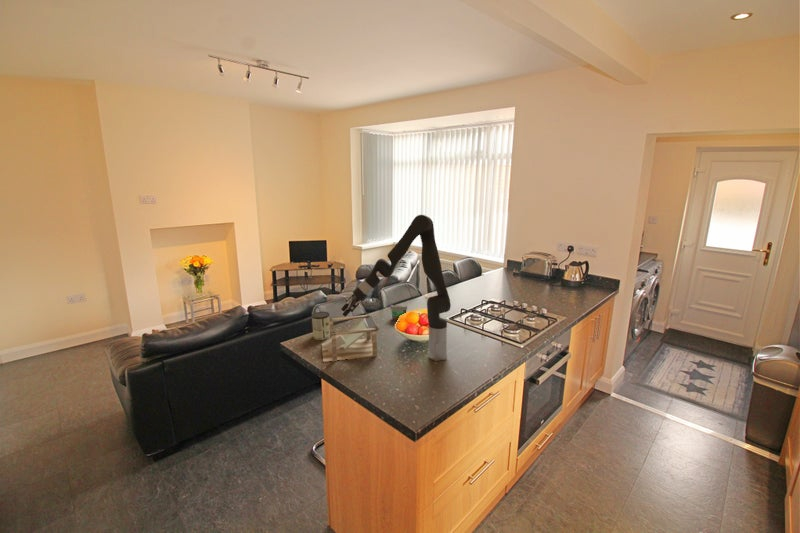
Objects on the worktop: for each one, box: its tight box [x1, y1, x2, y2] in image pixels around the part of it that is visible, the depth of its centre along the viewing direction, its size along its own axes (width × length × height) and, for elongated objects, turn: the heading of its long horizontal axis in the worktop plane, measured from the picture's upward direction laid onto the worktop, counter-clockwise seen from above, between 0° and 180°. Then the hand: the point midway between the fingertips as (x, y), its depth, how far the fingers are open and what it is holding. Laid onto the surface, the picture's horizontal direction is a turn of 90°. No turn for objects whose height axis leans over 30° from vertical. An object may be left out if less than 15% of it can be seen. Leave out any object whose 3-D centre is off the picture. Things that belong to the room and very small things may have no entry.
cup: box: [424, 292, 441, 318], centre depth 248 cm, size 12×12×15 cm
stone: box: [323, 335, 345, 353], centre depth 197 cm, size 5×5×10 cm
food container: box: [389, 303, 408, 322], centre depth 242 cm, size 12×6×10 cm, turn 62°
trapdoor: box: [342, 315, 380, 349], centre depth 199 cm, size 18×20×4 cm
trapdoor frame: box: [321, 314, 378, 363], centre depth 198 cm, size 23×28×15 cm
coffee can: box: [311, 311, 330, 341], centre depth 217 cm, size 10×10×14 cm
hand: (343, 312), depth 195 cm, fingers open, 8 cm apart
